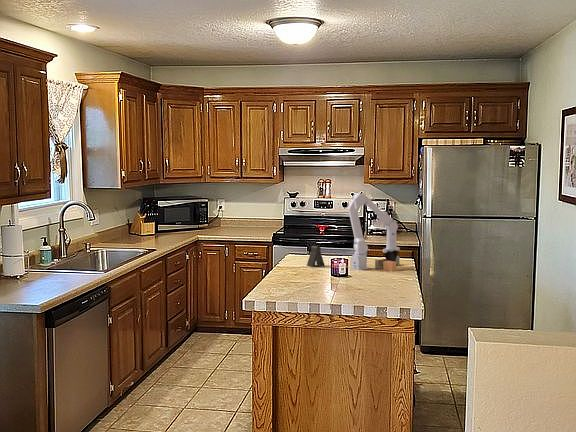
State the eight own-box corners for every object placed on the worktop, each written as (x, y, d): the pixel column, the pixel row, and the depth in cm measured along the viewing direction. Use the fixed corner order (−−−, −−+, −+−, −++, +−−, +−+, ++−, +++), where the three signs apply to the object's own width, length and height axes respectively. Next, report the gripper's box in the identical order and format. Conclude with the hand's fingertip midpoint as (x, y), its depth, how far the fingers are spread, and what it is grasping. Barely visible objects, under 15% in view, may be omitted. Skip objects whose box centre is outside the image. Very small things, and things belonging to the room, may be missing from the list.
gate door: (378, 267, 366) (378, 260, 365) (377, 267, 366) (377, 260, 366) (392, 264, 375) (392, 258, 375) (390, 264, 376) (391, 257, 376)
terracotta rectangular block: (391, 271, 356) (391, 262, 355) (383, 269, 360) (383, 261, 360) (395, 270, 358) (396, 261, 358) (387, 269, 363) (387, 260, 362)
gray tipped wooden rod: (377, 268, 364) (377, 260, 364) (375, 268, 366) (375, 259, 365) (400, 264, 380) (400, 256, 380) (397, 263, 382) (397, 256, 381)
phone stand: (312, 267, 367) (312, 247, 366) (306, 266, 372) (306, 246, 372) (324, 266, 372) (324, 246, 371) (319, 264, 377) (319, 245, 376)
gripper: (389, 242, 358) (389, 265, 359) (404, 240, 368) (403, 263, 369) (379, 241, 363) (379, 264, 364) (394, 239, 373) (393, 261, 374)
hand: (390, 263), depth 367 cm, fingers open, 4 cm apart
